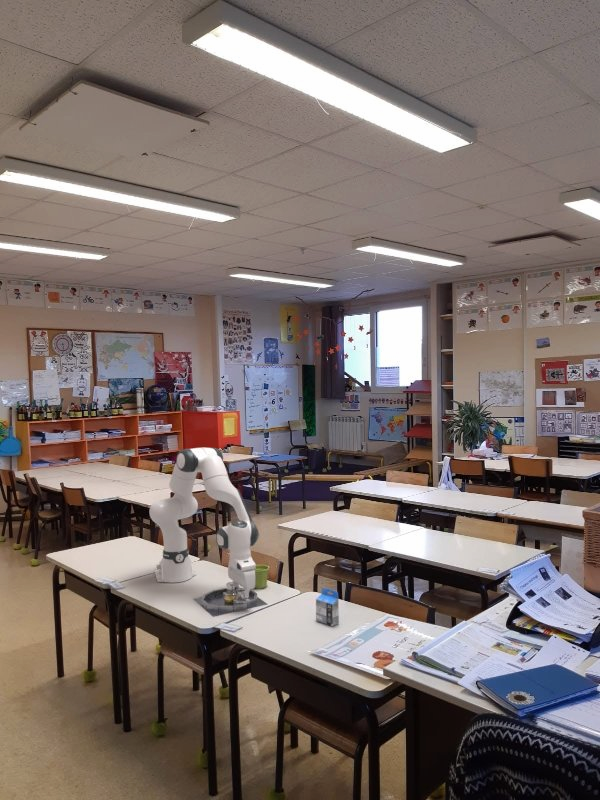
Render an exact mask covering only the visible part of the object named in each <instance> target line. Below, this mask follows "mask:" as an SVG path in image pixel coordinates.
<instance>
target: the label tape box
mask: <svg viewBox="0 0 600 800" xmlns="http://www.w3.org/2000/svg"><path fill="white" fill-rule="evenodd" d="M339 611H340V610H339V592H338V591H337V590H333V589H330V588H326V587H324V586H323V587H322V586H321V594H319V596H318V597H317V598H316V599H315V621H317V622H319V623H322V624H325V625H328V626H331V627H335V626H337V625H339V621H340V620H339V619H340V616H339V615H340V612H339Z"/></svg>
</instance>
